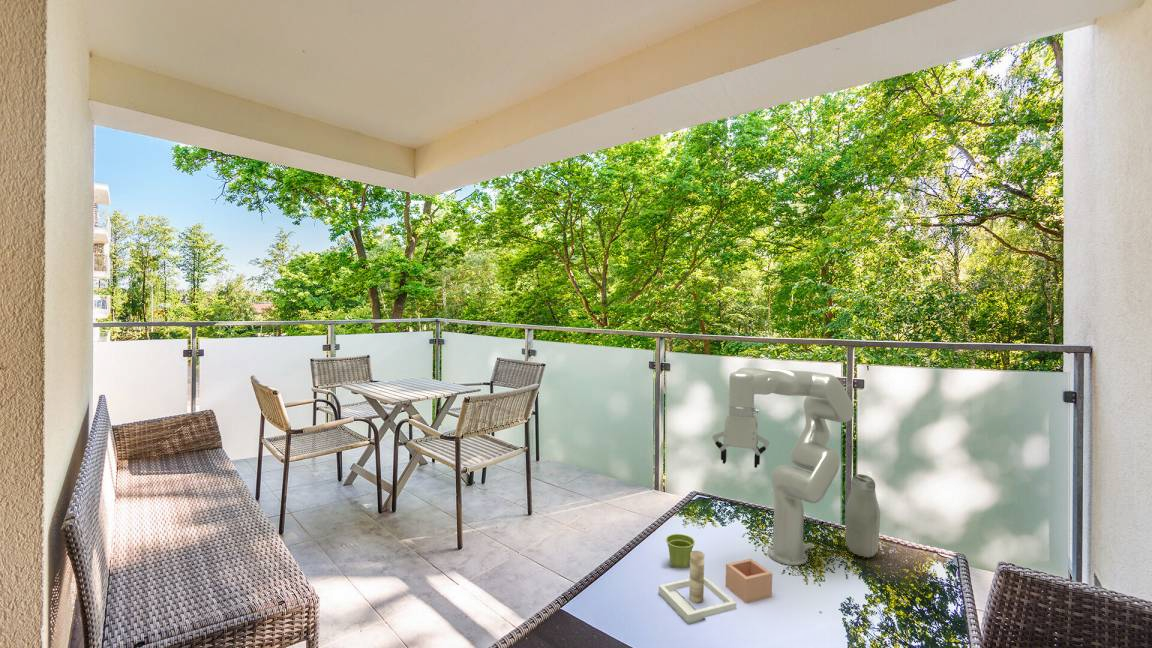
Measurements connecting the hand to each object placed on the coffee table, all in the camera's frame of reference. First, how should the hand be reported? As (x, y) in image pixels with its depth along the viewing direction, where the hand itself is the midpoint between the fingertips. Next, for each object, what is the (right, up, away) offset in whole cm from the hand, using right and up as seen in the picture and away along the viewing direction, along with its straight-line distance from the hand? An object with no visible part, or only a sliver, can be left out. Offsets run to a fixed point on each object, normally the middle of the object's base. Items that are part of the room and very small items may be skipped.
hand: (740, 464), depth 169 cm
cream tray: (-17, -37, -13) cm, 43 cm away
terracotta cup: (0, -37, -9) cm, 38 cm away
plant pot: (-17, -36, +8) cm, 41 cm away
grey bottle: (+47, -36, +16) cm, 61 cm away
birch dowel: (-17, -36, -13) cm, 42 cm away
